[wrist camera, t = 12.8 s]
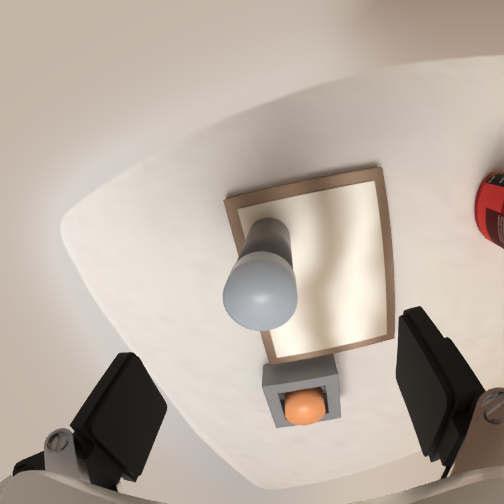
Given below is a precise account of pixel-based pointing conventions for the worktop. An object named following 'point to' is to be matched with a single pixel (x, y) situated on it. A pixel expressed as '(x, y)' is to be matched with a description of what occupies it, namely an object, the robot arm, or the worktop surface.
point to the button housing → (301, 385)
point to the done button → (304, 406)
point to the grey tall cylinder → (263, 279)
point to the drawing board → (328, 261)
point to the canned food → (491, 208)
